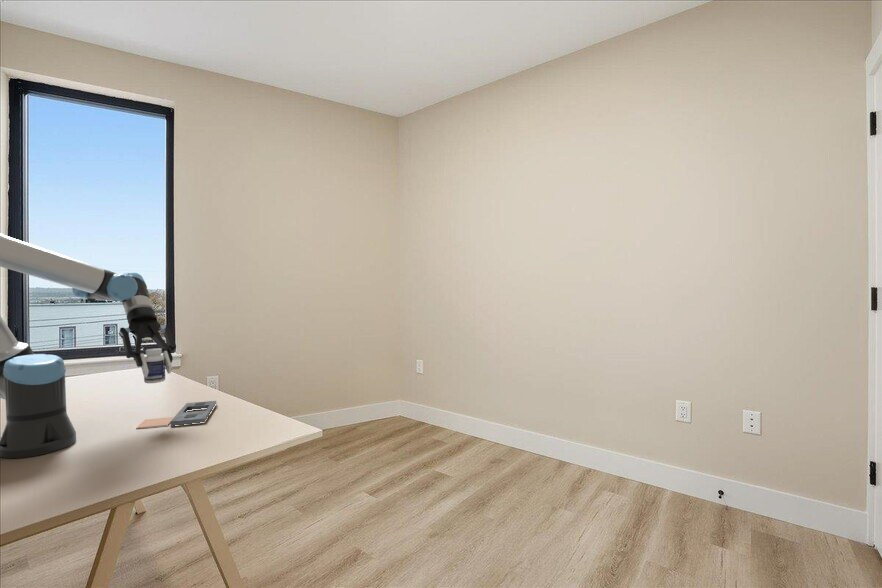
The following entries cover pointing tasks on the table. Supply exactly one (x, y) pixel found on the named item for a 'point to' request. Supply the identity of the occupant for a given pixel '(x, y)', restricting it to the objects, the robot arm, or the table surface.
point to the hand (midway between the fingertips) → (158, 372)
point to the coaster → (155, 422)
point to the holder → (193, 413)
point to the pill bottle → (155, 366)
